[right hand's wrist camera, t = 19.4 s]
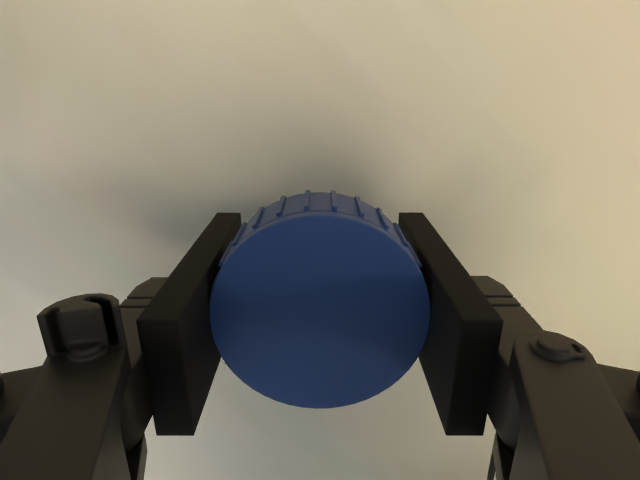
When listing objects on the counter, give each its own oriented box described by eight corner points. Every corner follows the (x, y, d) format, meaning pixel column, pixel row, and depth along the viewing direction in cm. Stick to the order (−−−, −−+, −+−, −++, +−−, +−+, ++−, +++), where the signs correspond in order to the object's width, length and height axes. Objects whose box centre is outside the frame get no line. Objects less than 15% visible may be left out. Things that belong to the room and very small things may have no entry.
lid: (185, 244, 11) (159, 277, 9) (366, 152, 11) (376, 168, 9) (282, 386, 13) (276, 438, 11) (444, 317, 12) (467, 361, 10)
